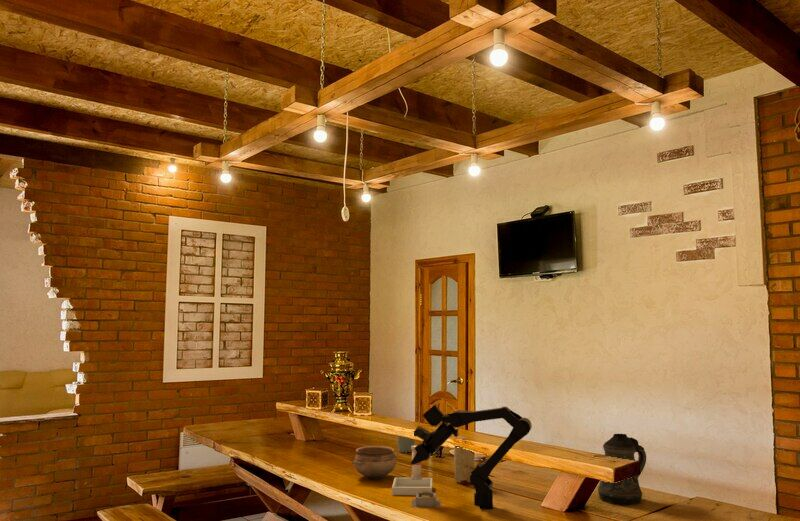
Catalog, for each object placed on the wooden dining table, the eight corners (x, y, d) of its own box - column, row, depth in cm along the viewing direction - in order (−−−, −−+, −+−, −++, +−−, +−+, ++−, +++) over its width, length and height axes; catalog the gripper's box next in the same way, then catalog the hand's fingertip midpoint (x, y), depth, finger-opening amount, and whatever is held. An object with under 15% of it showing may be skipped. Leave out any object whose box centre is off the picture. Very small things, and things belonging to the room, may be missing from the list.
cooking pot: (365, 486, 266) (365, 457, 267) (340, 478, 280) (340, 450, 281) (409, 477, 281) (409, 449, 283) (383, 469, 296) (383, 443, 297)
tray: (432, 487, 264) (432, 477, 265) (431, 497, 248) (431, 488, 249) (394, 486, 265) (394, 477, 266) (391, 497, 249) (391, 487, 250)
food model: (451, 483, 270) (450, 436, 272) (458, 480, 276) (458, 434, 278) (471, 486, 265) (470, 438, 267) (478, 483, 270) (478, 436, 272)
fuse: (423, 477, 246) (423, 445, 247) (420, 480, 242) (420, 447, 243) (412, 477, 247) (412, 444, 248) (409, 479, 243) (409, 446, 244)
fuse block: (440, 502, 242) (440, 490, 242) (440, 510, 232) (440, 497, 233) (412, 501, 243) (412, 489, 243) (411, 509, 233) (411, 496, 233)
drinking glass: (394, 450, 339) (394, 428, 340) (410, 448, 343) (410, 426, 344) (402, 454, 330) (402, 431, 331) (419, 452, 334) (419, 429, 335)
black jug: (590, 499, 245) (588, 434, 248) (613, 490, 259) (611, 428, 261) (630, 508, 234) (628, 440, 236) (653, 498, 247) (650, 433, 250)
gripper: (432, 416, 254) (406, 442, 257) (420, 423, 237) (392, 451, 239) (451, 437, 251) (424, 463, 254) (440, 446, 234) (411, 474, 236)
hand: (413, 462), depth 246 cm, fingers closed on fuse, 4 cm apart
